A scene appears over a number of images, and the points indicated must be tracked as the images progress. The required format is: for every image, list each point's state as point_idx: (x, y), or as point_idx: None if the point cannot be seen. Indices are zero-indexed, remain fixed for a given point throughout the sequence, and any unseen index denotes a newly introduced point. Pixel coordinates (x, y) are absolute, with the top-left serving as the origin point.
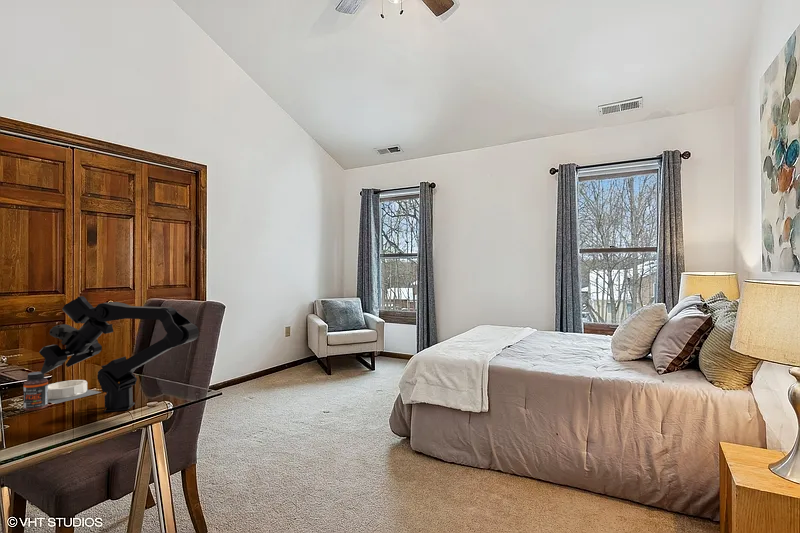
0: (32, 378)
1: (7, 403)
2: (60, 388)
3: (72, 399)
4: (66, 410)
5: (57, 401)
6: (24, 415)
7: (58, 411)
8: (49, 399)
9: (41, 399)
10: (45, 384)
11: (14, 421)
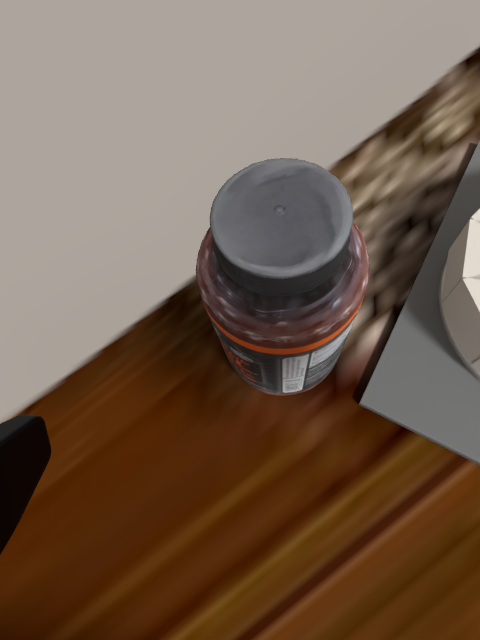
0: (216, 254)
1: (382, 125)
2: None
3: (462, 453)
4: (234, 588)
5: (408, 376)
6: (168, 371)
7: (218, 539)
8: (439, 296)
9: (254, 377)
10: (284, 353)
11: (70, 399)
